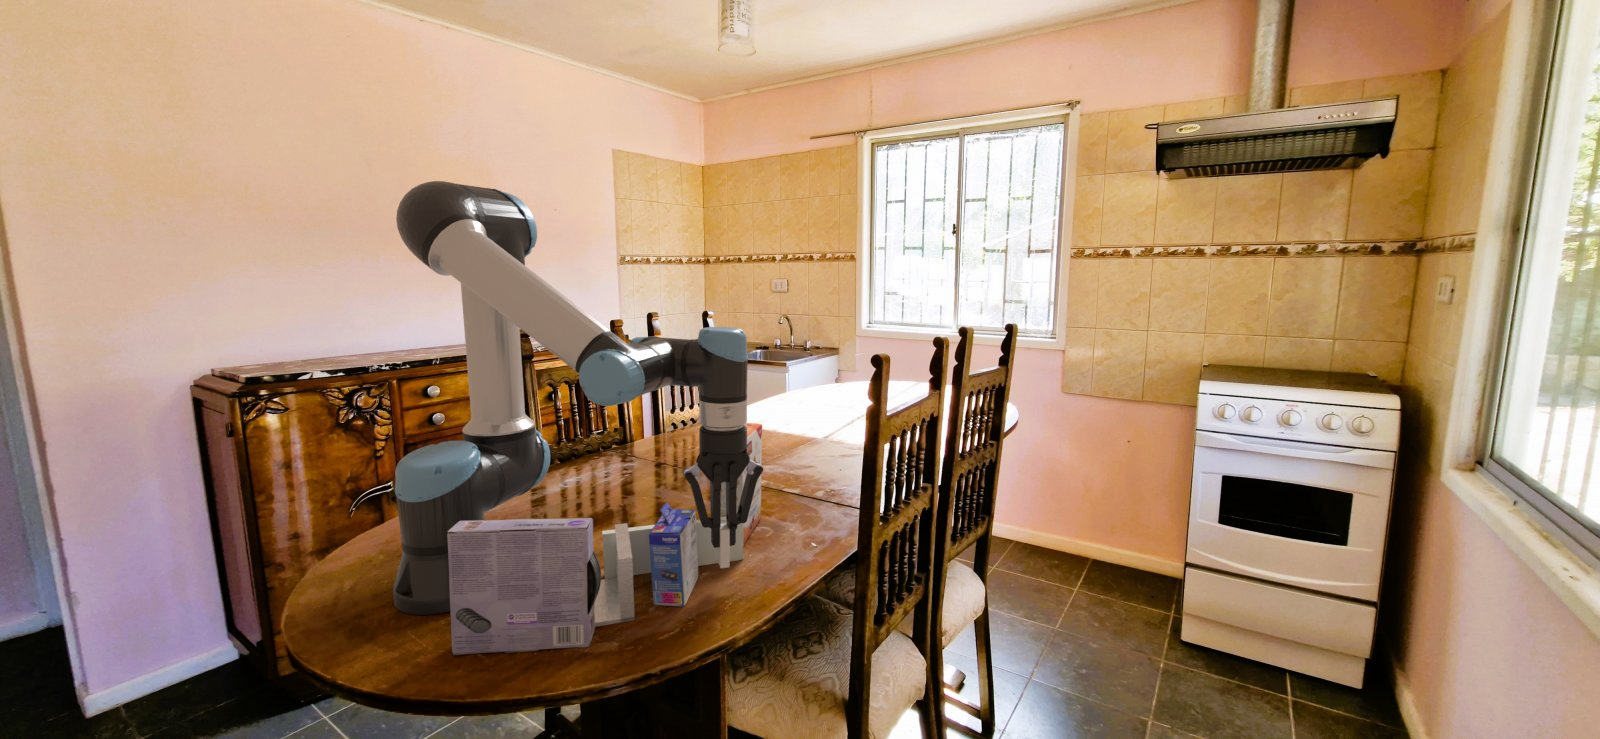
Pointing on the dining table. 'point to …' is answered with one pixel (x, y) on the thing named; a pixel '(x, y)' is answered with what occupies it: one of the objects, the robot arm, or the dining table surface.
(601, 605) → the bookend
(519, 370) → the robot arm
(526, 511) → the dining table surface
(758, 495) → the cracker box
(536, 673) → the dining table surface
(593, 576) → the cake pan box
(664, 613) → the dining table surface
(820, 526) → the dining table surface
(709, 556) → the back wall
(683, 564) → the ink cartridge box
